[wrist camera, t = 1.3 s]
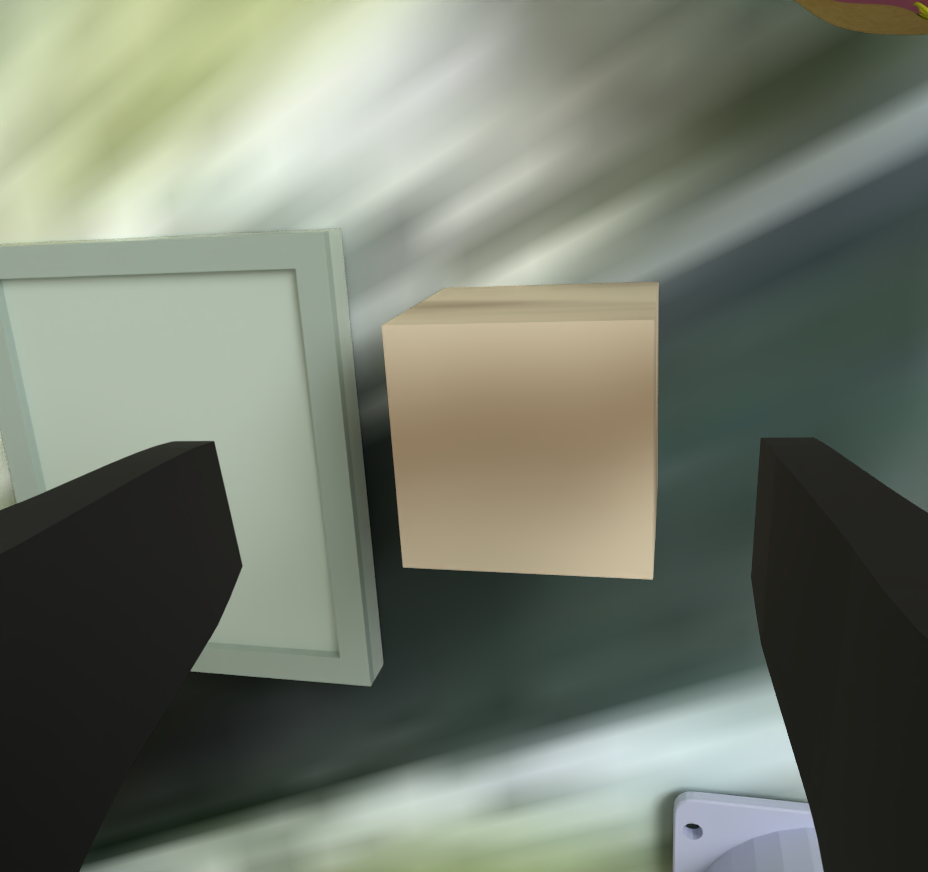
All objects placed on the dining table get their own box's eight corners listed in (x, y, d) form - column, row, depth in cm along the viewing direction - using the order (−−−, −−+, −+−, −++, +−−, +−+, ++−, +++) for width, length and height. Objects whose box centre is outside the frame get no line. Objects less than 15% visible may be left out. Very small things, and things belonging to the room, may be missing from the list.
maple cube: (657, 486, 21) (652, 579, 17) (458, 482, 22) (402, 567, 18) (658, 281, 20) (654, 319, 15) (446, 287, 21) (381, 325, 16)
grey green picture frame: (383, 664, 24) (371, 686, 23) (75, 640, 27) (52, 659, 26) (340, 228, 21) (323, 232, 20) (-10, 244, 23) (-41, 248, 22)
